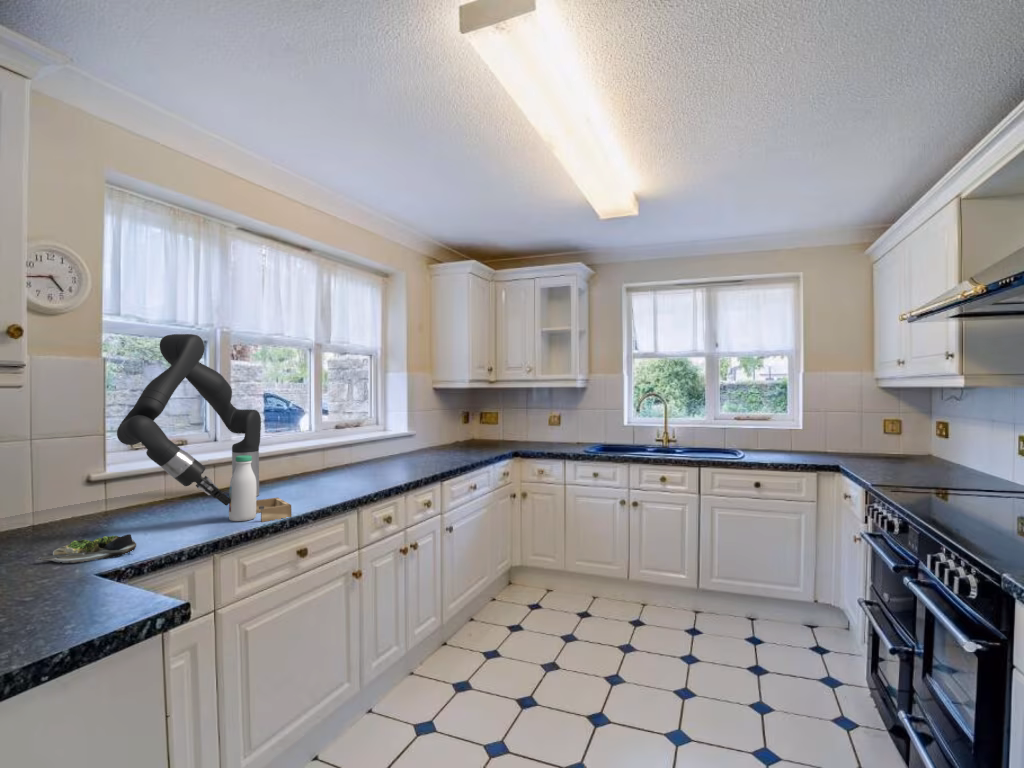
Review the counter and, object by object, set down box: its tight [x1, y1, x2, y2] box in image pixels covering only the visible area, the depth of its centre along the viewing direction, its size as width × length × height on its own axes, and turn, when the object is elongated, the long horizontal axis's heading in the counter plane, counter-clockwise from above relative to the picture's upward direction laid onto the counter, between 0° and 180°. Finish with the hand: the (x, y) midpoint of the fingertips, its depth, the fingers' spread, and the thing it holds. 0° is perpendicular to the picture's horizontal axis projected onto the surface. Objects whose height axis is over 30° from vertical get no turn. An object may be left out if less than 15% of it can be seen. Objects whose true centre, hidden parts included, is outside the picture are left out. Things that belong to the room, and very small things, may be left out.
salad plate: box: [37, 533, 137, 564], centre depth 136 cm, size 19×18×5 cm
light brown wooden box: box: [256, 497, 292, 523], centre depth 174 cm, size 15×9×5 cm, turn 39°
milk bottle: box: [228, 455, 257, 522], centre depth 170 cm, size 8×8×20 cm
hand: (228, 502), depth 167 cm, fingers closed
